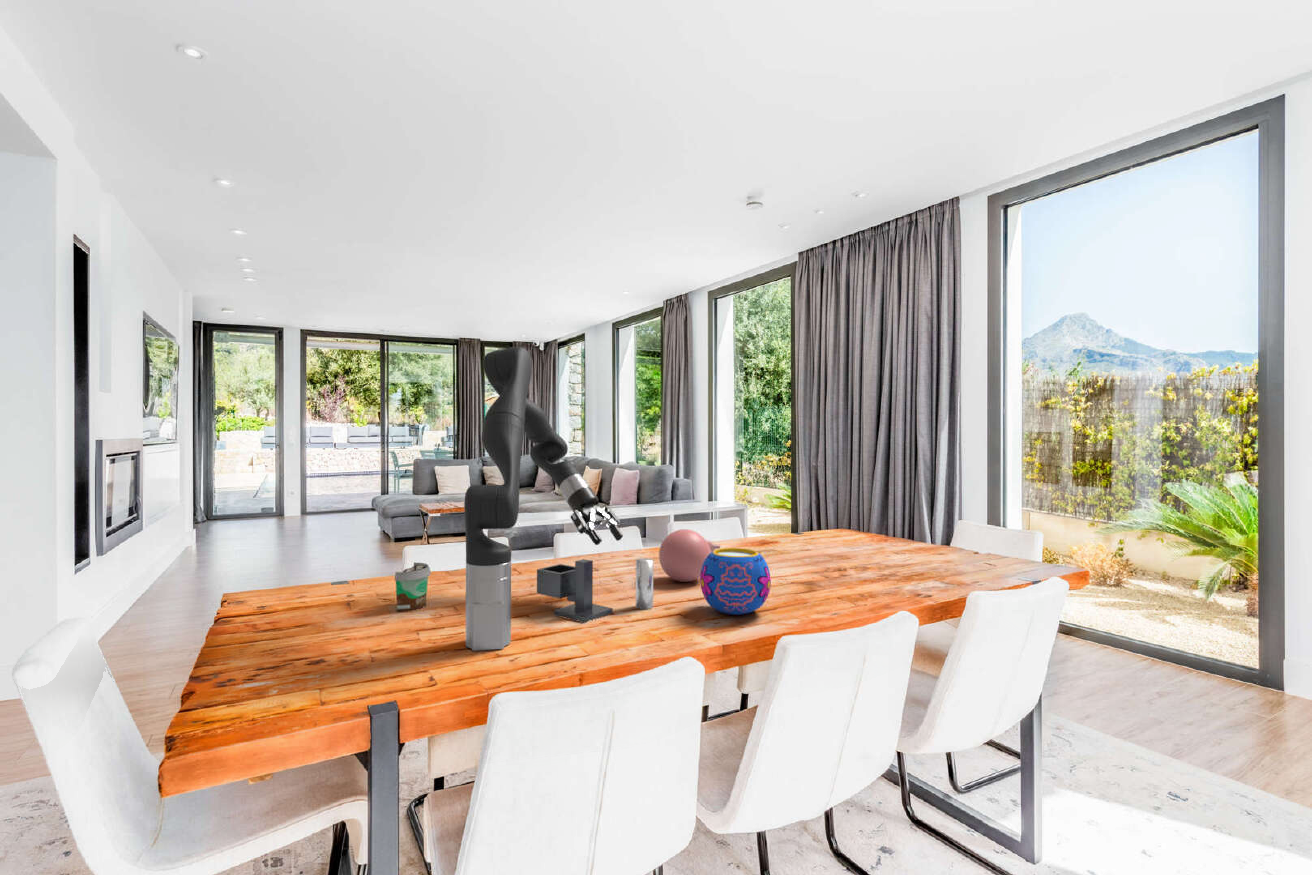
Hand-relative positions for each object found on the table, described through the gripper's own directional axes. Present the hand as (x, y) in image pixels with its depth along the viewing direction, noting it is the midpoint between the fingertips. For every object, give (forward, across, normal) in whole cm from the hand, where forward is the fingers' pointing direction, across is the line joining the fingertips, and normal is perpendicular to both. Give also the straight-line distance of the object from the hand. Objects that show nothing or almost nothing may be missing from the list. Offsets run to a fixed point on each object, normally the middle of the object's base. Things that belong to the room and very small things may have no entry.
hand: (610, 540), depth 170 cm
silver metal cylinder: (+19, 0, +3) cm, 19 cm away
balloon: (+15, +31, +7) cm, 36 cm away
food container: (-13, -35, +35) cm, 51 cm away
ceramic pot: (+34, +10, -12) cm, 37 cm away
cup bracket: (+11, -14, +11) cm, 21 cm away
